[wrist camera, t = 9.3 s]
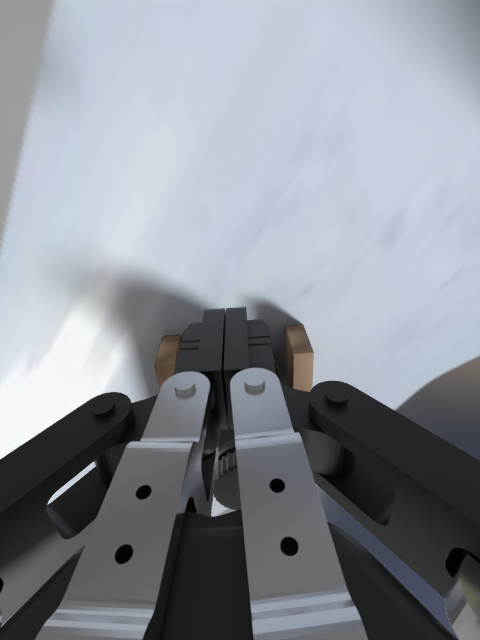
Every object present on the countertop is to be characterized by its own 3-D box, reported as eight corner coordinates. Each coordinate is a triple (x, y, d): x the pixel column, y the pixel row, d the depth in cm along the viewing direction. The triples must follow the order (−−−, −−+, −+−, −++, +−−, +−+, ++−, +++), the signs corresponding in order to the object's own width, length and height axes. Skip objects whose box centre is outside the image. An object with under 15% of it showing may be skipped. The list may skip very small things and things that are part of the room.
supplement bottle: (220, 404, 34) (218, 531, 23) (190, 350, 30) (173, 472, 20) (287, 383, 33) (317, 507, 22) (264, 326, 29) (287, 440, 19)
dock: (303, 324, 29) (313, 352, 26) (300, 434, 36) (308, 467, 33) (162, 336, 29) (154, 365, 26) (186, 443, 36) (182, 478, 33)
